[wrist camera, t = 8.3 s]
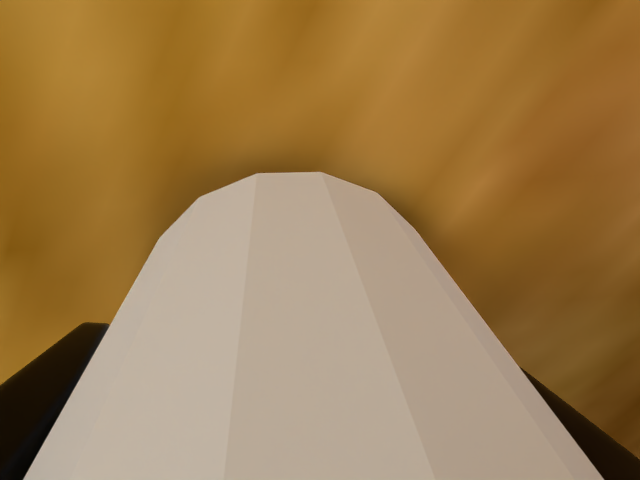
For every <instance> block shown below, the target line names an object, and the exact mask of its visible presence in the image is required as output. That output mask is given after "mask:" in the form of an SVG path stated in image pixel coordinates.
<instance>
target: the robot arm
mask: <svg viewBox="0 0 640 480" xmlns="http://www.w3.org/2000/svg"><path fill="white" fill-rule="evenodd" d="M109 326H110V325H109V324H107V323H91V322H86V323H83V324H81V325H79V326H78V327H77V328H75V329H74V330H73V331H71V332H70V333H69V334H67V335H66V336H65V337H63V338H62V339H61V340H59V341H58V342H57V343H56V344H54V345H53V346H52V347H50V348H49V349H48V350H46V351H45V352H44V353H42V354H41V355H40V356H38V357H37V358H36V359H34V360H33V361H32V362H30V363H29V364H28V365H26V366H25V367H24V368H22V369H21V370H20V371H19V372H17V373H16V374H15V375H13V376H12V377H11V378H9V379H8V380H7V381H5V382H4V383H3V384H1V385H0V480H23V479H24V477H25V475H26V473H27V472H28V470H29V468H30V466H31V465H32V463H33V461H34V459H35V458H36V456H37V454H38V452H39V450H40V449H41V447H42V445H43V443H44V442H45V440H46V438H47V436H48V434H49V433H50V431H51V429H52V427H53V426H54V424H55V422H56V420H57V419H58V417H59V415H60V413H61V411H62V410H63V408H64V406H65V404H66V403H67V401H68V399H69V397H70V395H71V394H72V392H73V390H74V388H75V387H76V385H77V383H78V381H79V380H80V378H81V376H82V374H83V372H84V371H85V369H86V367H87V365H88V364H89V362H90V360H91V358H92V356H93V355H94V353H95V351H96V349H97V348H98V346H99V344H100V342H101V341H102V339H103V337H104V335H105V333H106V332H107V330H108V328H109ZM519 368H520V369H521V370H522V372H523V373H524V374H525V376H526V377H527V378H528V380H529V381H530V382H531V384H532V385H533V386H534V388H535V389H536V390H537V391H538V393H539V394H540V395H541V397H542V398H543V399H544V401H545V402H546V403H547V405H548V406H549V407H550V409H551V410H552V411H553V413H554V414H555V415H556V417H557V418H558V419H559V421H560V422H561V423H562V425H563V426H564V427H565V429H566V430H567V431H568V433H569V434H570V435H571V437H572V438H573V439H574V441H575V442H576V443H577V444H578V446H579V447H580V448H581V450H582V451H583V452H584V454H585V455H586V456H587V458H588V459H589V460H590V462H591V463H592V464H593V466H594V467H595V468H596V470H597V471H598V472H599V474H600V475H601V476H602V478H603V479H604V480H640V459H638V458H637V457H636V456H634V455H633V454H632V453H630V452H629V451H628V450H627V449H625V448H624V447H623V446H621V445H620V444H619V443H618V442H616V441H615V440H614V439H612V438H611V437H610V436H609V435H607V434H606V433H605V432H603V431H602V430H601V429H599V428H598V427H597V426H596V425H594V424H593V423H592V422H590V421H589V420H588V419H587V418H585V417H584V416H583V415H581V414H580V413H579V412H578V411H576V410H575V409H574V408H572V407H571V406H570V405H569V404H567V403H566V402H565V401H563V400H562V399H561V398H559V397H558V396H557V395H556V394H554V393H553V392H552V391H550V390H549V389H548V388H547V387H545V386H544V385H543V384H541V383H540V382H539V381H538V380H536V379H535V378H534V377H532V376H531V375H530V374H528V373H527V372H526V371H525V370H523V369H522V368H521V367H519Z"/></svg>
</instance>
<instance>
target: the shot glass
mask: <svg viewBox="0 0 640 480" xmlns="http://www.w3.org/2000/svg"><path fill="white" fill-rule="evenodd" d="M23 480H604V479H603V478H602V476H601V475H600V474H599V472H598V471H597V470H596V468H595V467H594V466H593V464H592V463H591V462H590V460H589V459H588V458H587V456H586V455H585V454H584V452H583V451H582V450H581V448H580V447H579V446H578V444H577V443H576V442H575V441H574V439H573V438H572V437H571V435H570V434H569V433H568V431H567V430H566V429H565V427H564V426H563V425H562V423H561V422H560V421H559V419H558V418H557V417H556V415H555V414H554V413H553V411H552V410H551V409H550V407H549V406H548V405H547V403H546V402H545V401H544V399H543V398H542V397H541V395H540V394H539V393H538V391H537V390H536V389H535V388H534V386H533V385H532V384H531V382H530V381H529V380H528V378H527V377H526V376H525V374H524V373H523V372H522V370H521V369H520V368H519V366H518V365H517V364H516V362H515V361H514V360H513V358H512V357H511V356H510V354H509V353H508V352H507V350H506V349H505V348H504V346H503V345H502V344H501V342H500V341H499V340H498V338H497V337H496V336H495V335H494V333H493V332H492V331H491V329H490V328H489V327H488V325H487V324H486V323H485V321H484V320H483V319H482V317H481V316H480V315H479V313H478V312H477V311H476V309H475V308H474V307H473V305H472V304H471V303H470V301H469V300H468V299H467V297H466V296H465V295H464V293H463V292H462V291H461V289H460V288H459V287H458V285H457V284H456V283H455V282H454V280H453V279H452V278H451V276H450V275H449V274H448V272H447V271H446V270H445V268H444V267H443V266H442V264H441V263H440V262H439V260H438V259H437V258H436V256H435V255H434V254H433V252H432V251H431V250H430V248H429V247H428V246H427V244H426V243H425V242H424V240H423V239H422V238H421V236H420V235H419V234H418V232H417V231H416V230H415V229H414V228H413V227H412V226H411V225H410V224H409V223H408V222H407V221H406V220H405V219H404V218H403V217H402V216H401V215H400V214H399V213H398V212H397V211H396V210H395V209H394V208H393V207H392V206H391V205H389V204H388V203H387V202H386V201H385V200H384V199H383V198H382V197H381V196H380V195H379V194H378V193H377V192H374V191H372V190H369V189H366V188H364V187H361V186H358V185H355V184H353V183H350V182H347V181H344V180H342V179H339V178H336V177H334V176H331V175H328V174H325V173H323V172H292V173H256V174H254V175H252V176H249V177H247V178H244V179H242V180H239V181H237V182H235V183H232V184H230V185H227V186H225V187H222V188H220V189H218V190H215V191H213V192H210V193H208V194H206V195H203V196H201V197H199V198H198V199H197V200H196V201H195V202H194V203H193V204H192V205H191V206H190V207H189V208H188V209H187V210H186V211H185V212H184V213H183V214H182V215H181V216H180V217H179V218H178V219H177V220H176V221H175V222H174V223H173V224H172V225H171V226H170V227H169V228H168V229H167V230H166V231H165V233H164V234H163V235H162V236H161V237H160V238H159V240H158V241H157V243H156V245H155V247H154V248H153V250H152V252H151V254H150V255H149V257H148V259H147V261H146V263H145V264H144V266H143V268H142V270H141V271H140V273H139V275H138V277H137V279H136V280H135V282H134V284H133V286H132V287H131V289H130V291H129V293H128V294H127V296H126V298H125V300H124V302H123V303H122V305H121V307H120V309H119V310H118V312H117V314H116V316H115V318H114V319H113V321H112V323H111V325H110V326H109V328H108V330H107V332H106V333H105V335H104V337H103V339H102V341H101V342H100V344H99V346H98V348H97V349H96V351H95V353H94V355H93V356H92V358H91V360H90V362H89V364H88V365H87V367H86V369H85V371H84V372H83V374H82V376H81V378H80V380H79V381H78V383H77V385H76V387H75V388H74V390H73V392H72V394H71V395H70V397H69V399H68V401H67V403H66V404H65V406H64V408H63V410H62V411H61V413H60V415H59V417H58V419H57V420H56V422H55V424H54V426H53V427H52V429H51V431H50V433H49V434H48V436H47V438H46V440H45V442H44V443H43V445H42V447H41V449H40V450H39V452H38V454H37V456H36V458H35V459H34V461H33V463H32V465H31V466H30V468H29V470H28V472H27V473H26V475H25V477H24V479H23Z"/></svg>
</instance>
